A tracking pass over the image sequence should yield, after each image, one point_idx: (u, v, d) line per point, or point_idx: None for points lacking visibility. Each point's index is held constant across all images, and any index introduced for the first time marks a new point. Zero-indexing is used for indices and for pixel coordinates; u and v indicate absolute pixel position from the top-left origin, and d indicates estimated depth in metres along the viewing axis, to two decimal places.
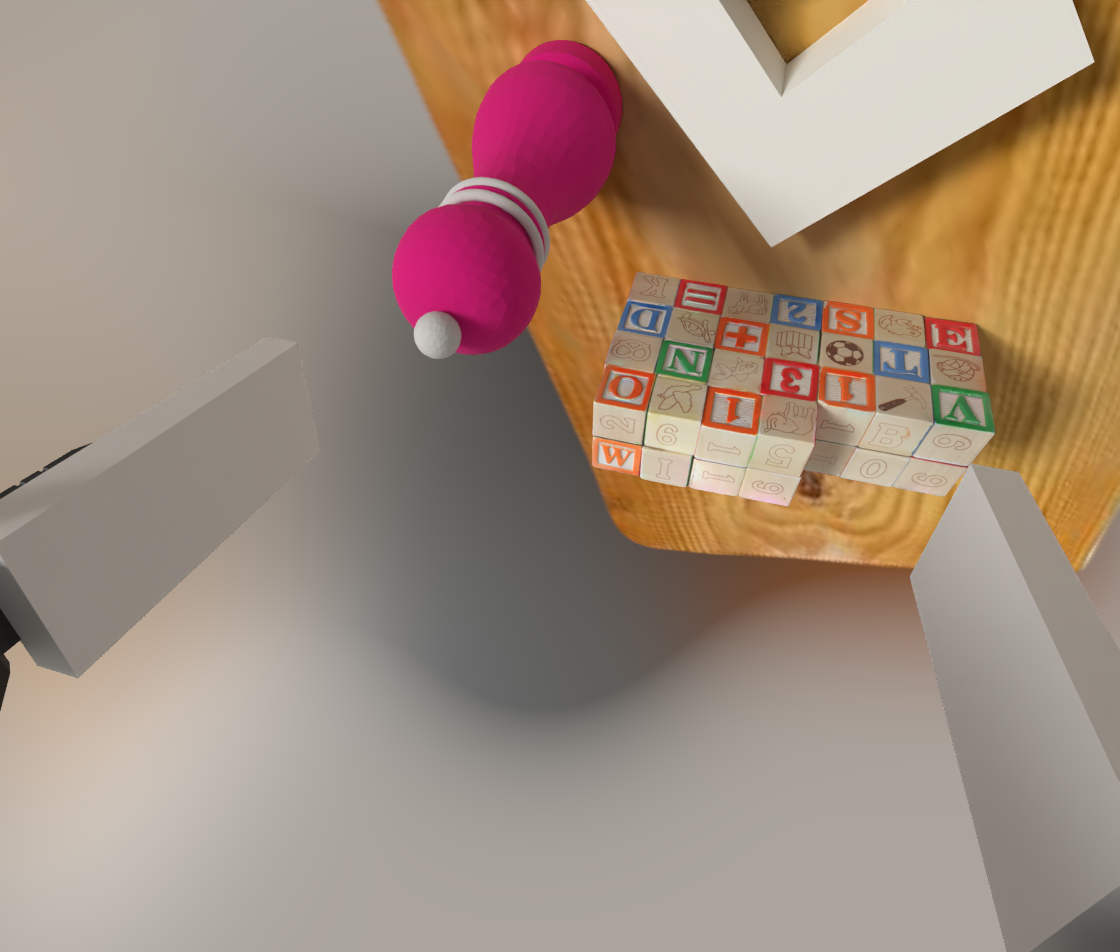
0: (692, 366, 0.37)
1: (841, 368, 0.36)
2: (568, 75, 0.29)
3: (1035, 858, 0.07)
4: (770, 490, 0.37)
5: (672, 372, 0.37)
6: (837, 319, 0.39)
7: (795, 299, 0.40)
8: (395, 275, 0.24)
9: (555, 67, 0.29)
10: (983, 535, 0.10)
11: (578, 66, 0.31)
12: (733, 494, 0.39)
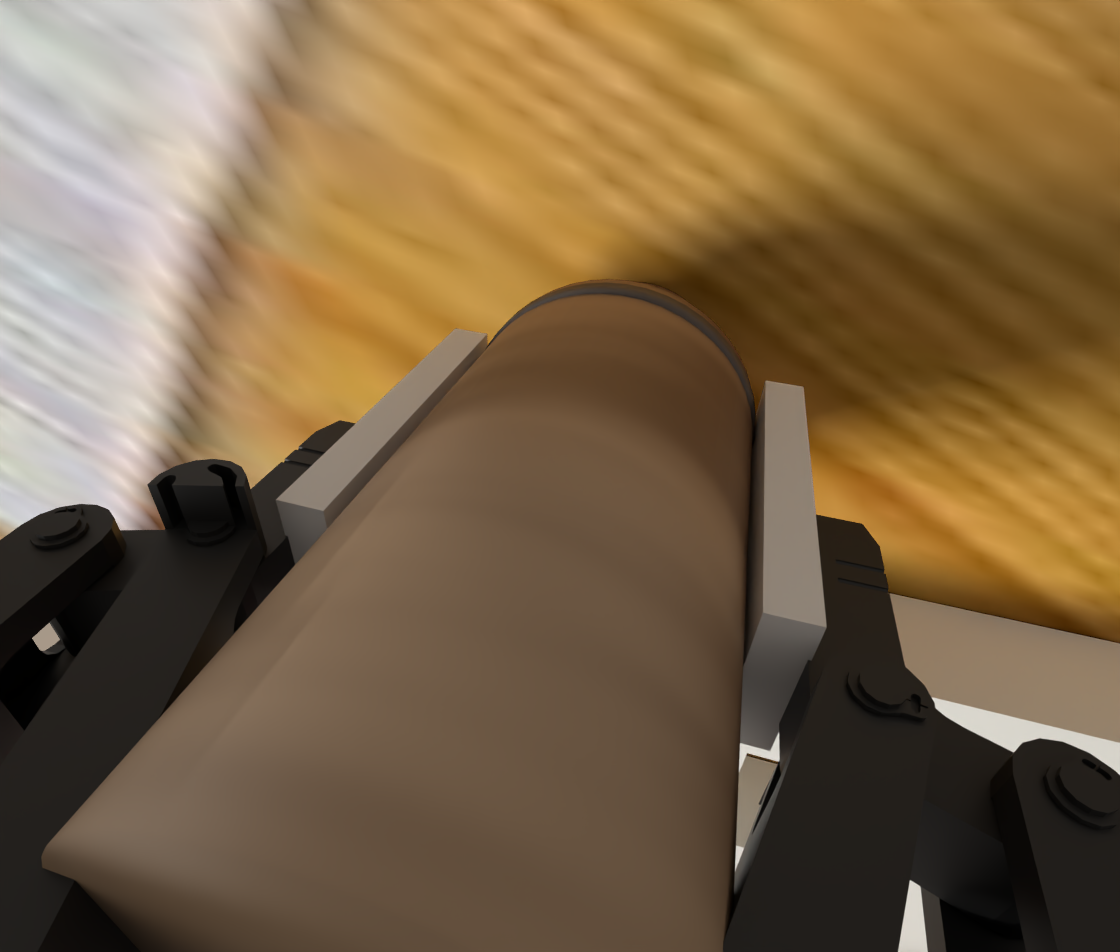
0: None
1: None
2: None
3: None
4: None
5: None
6: None
7: None
8: None
9: None
10: (759, 433, 0.12)
11: None
12: None
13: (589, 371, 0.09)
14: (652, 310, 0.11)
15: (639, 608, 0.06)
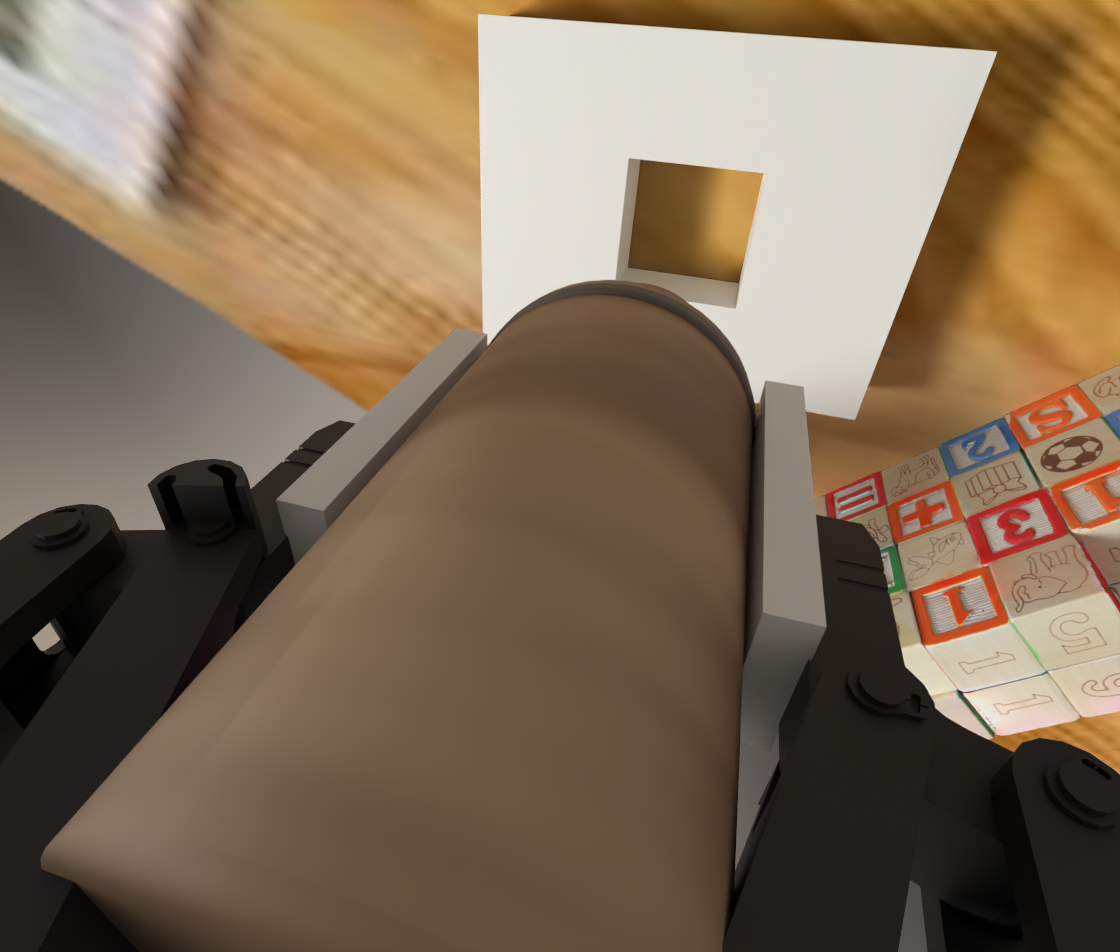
0: None
1: (1079, 473, 0.25)
2: None
3: None
4: None
5: None
6: (1035, 424, 0.29)
7: (967, 435, 0.31)
8: None
9: None
10: (759, 433, 0.12)
11: None
12: (1072, 718, 0.24)
13: (589, 372, 0.09)
14: (652, 311, 0.11)
15: (639, 611, 0.06)
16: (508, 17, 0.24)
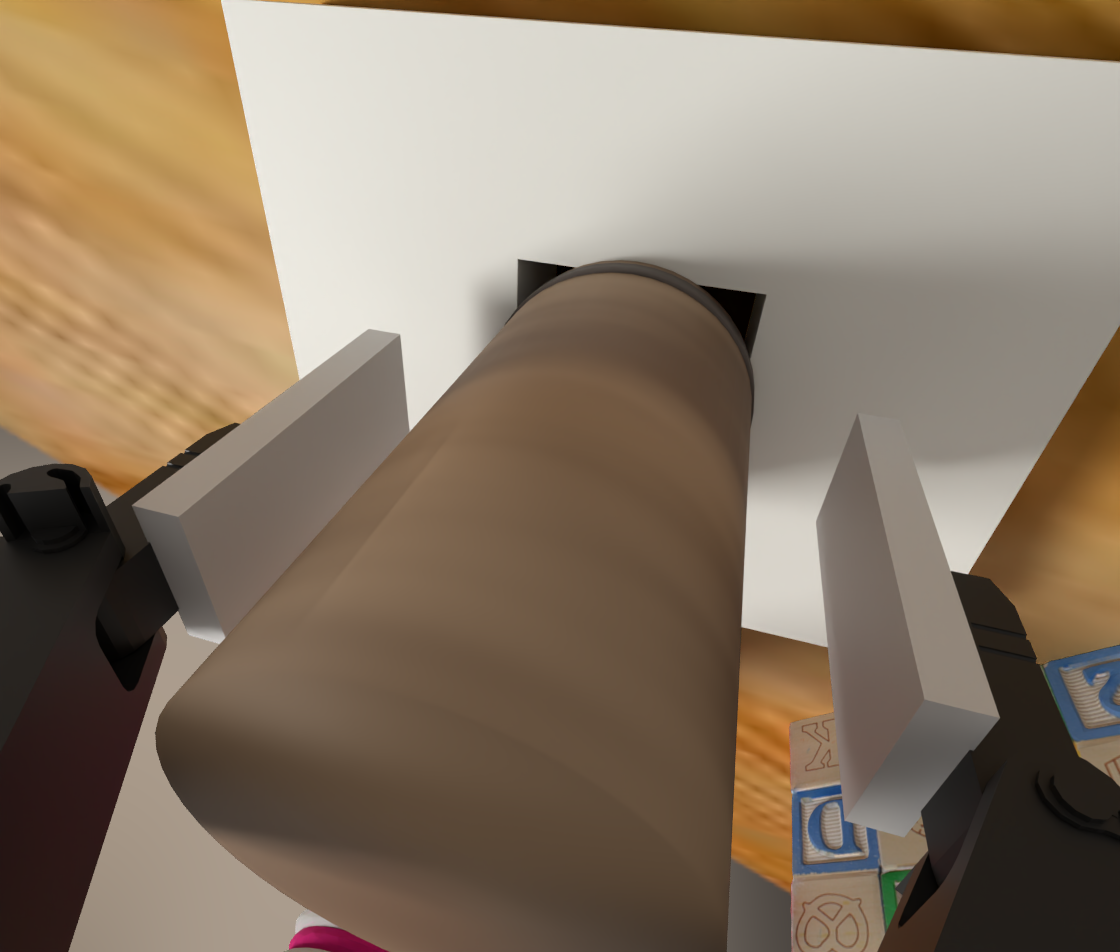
0: None
1: None
2: None
3: (864, 728, 0.08)
4: None
5: None
6: None
7: (1093, 657, 0.20)
8: None
9: None
10: (859, 472, 0.11)
11: None
12: None
13: (604, 336, 0.10)
14: (659, 287, 0.12)
15: (654, 526, 0.07)
16: (274, 4, 0.12)
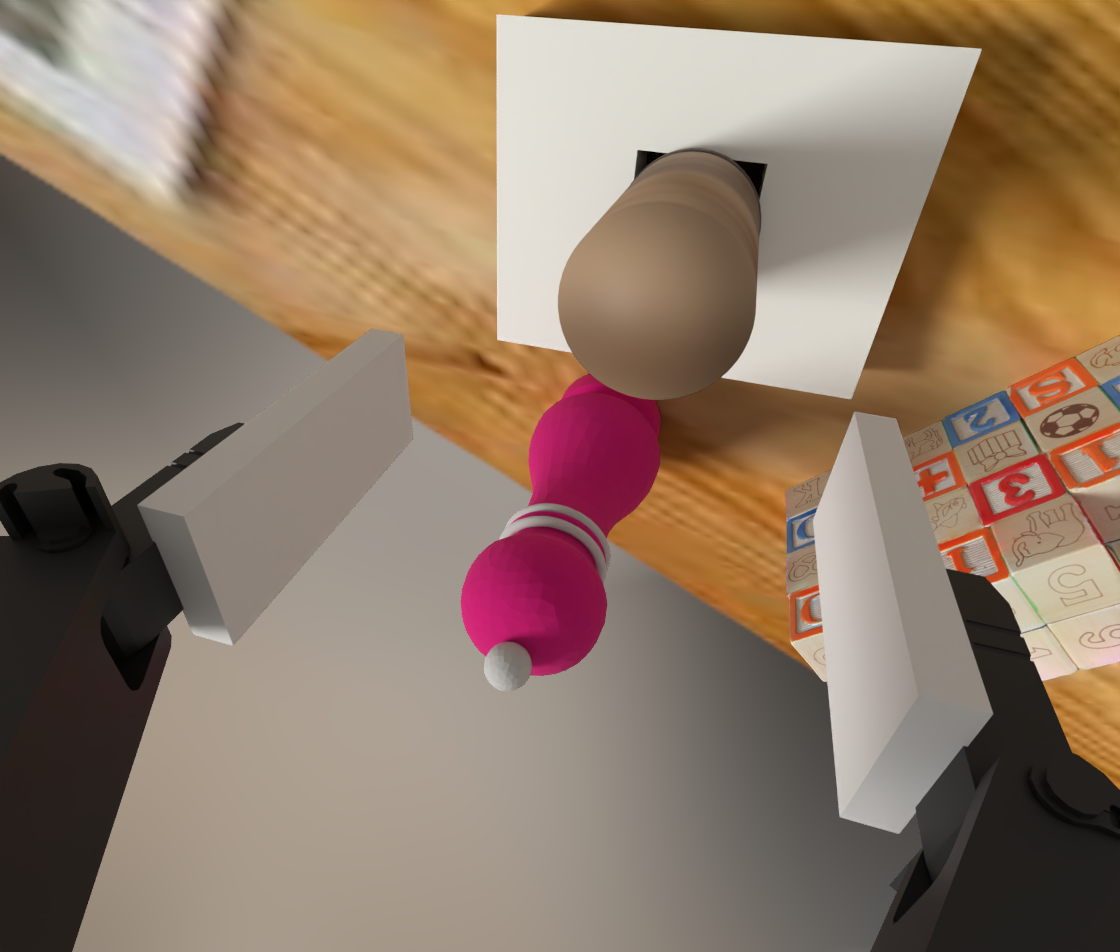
0: None
1: (1076, 438, 0.26)
2: (572, 400, 0.33)
3: (860, 725, 0.08)
4: (1116, 639, 0.24)
5: None
6: (1034, 395, 0.30)
7: (970, 408, 0.32)
8: None
9: (561, 402, 0.34)
10: (856, 471, 0.11)
11: (588, 389, 0.36)
12: (1070, 670, 0.26)
13: (696, 165, 0.23)
14: (715, 156, 0.25)
15: (727, 206, 0.20)
16: (525, 17, 0.25)
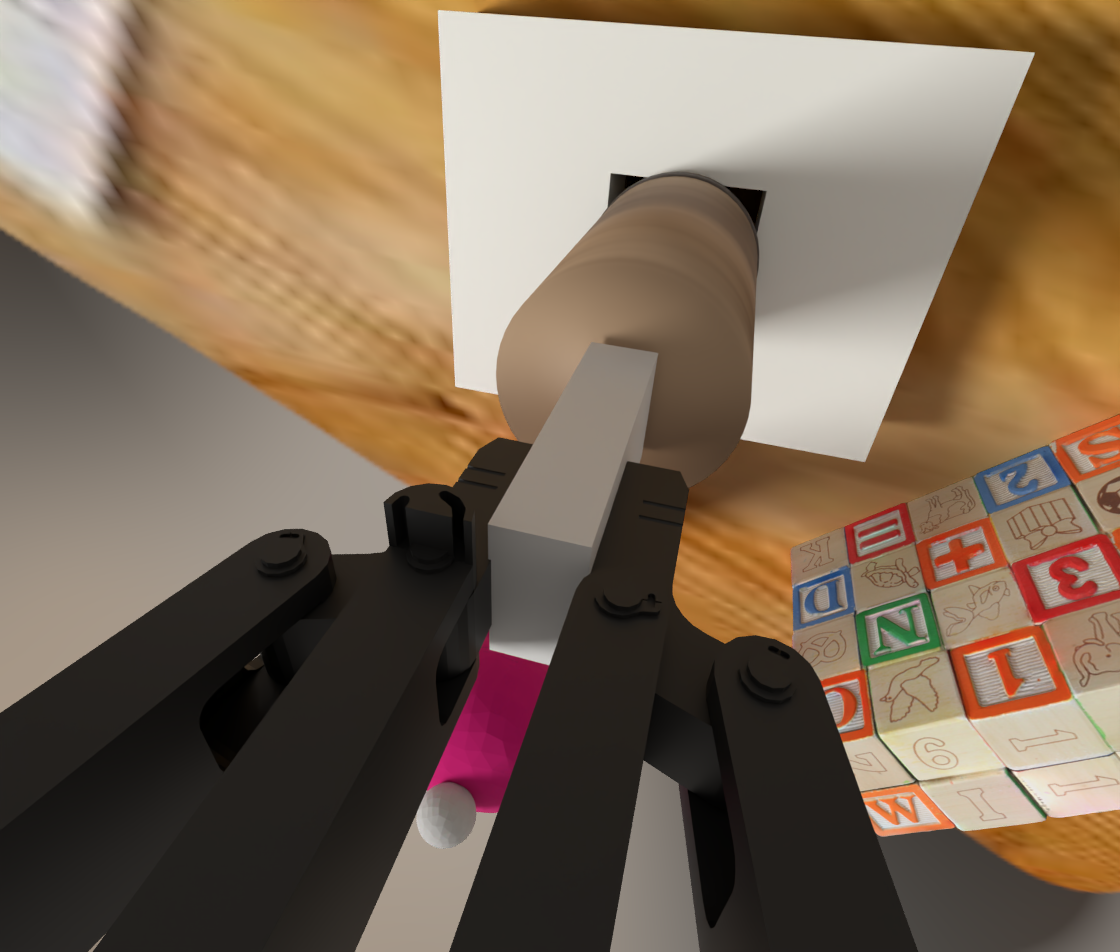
0: (909, 631, 0.25)
1: None
2: None
3: None
4: None
5: (886, 654, 0.25)
6: (1087, 454, 0.25)
7: (1006, 465, 0.28)
8: None
9: None
10: None
11: None
12: None
13: (678, 197, 0.18)
14: (703, 182, 0.21)
15: (715, 256, 0.15)
16: (472, 13, 0.21)
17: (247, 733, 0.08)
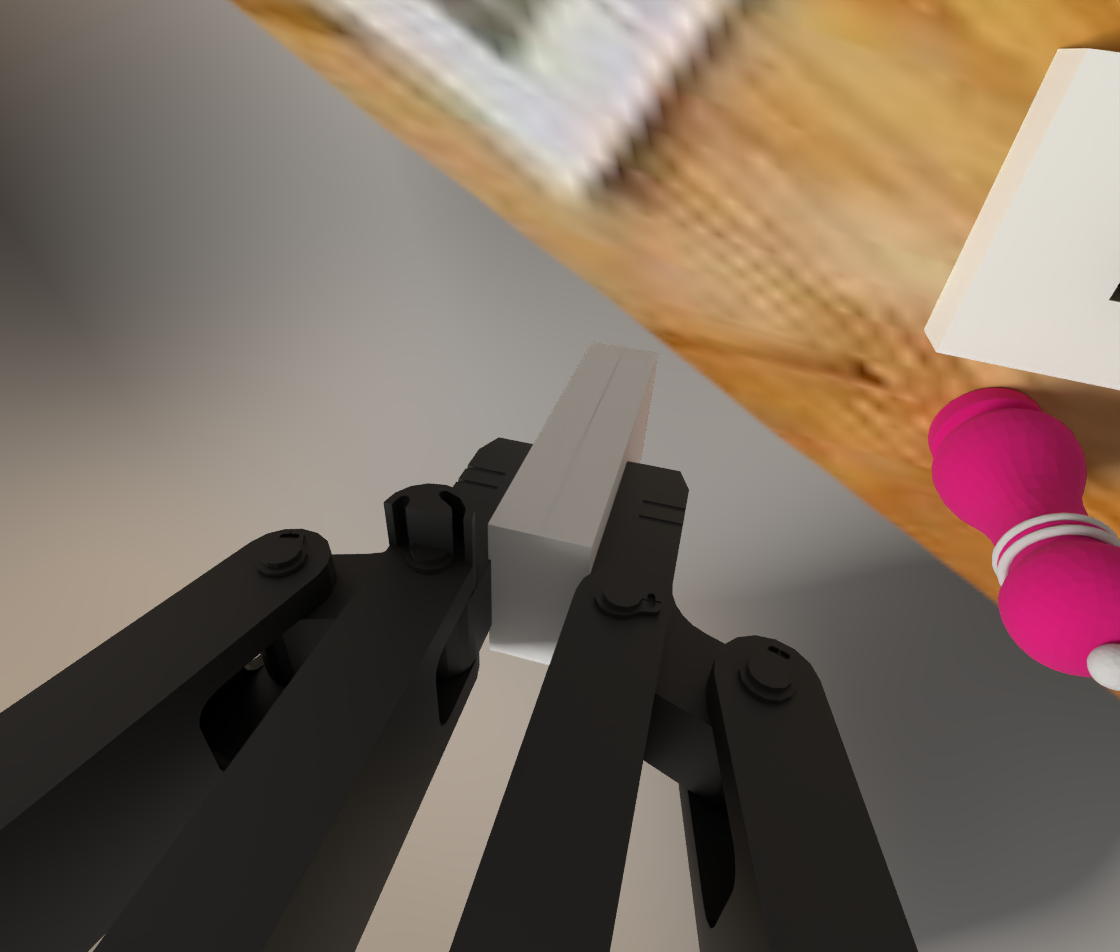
0: None
1: None
2: (1007, 414, 0.35)
3: None
4: None
5: None
6: None
7: None
8: (1027, 632, 0.27)
9: (992, 415, 0.35)
10: None
11: (994, 404, 0.37)
12: None
13: None
14: None
15: None
16: (1118, 53, 0.27)
17: (247, 733, 0.08)
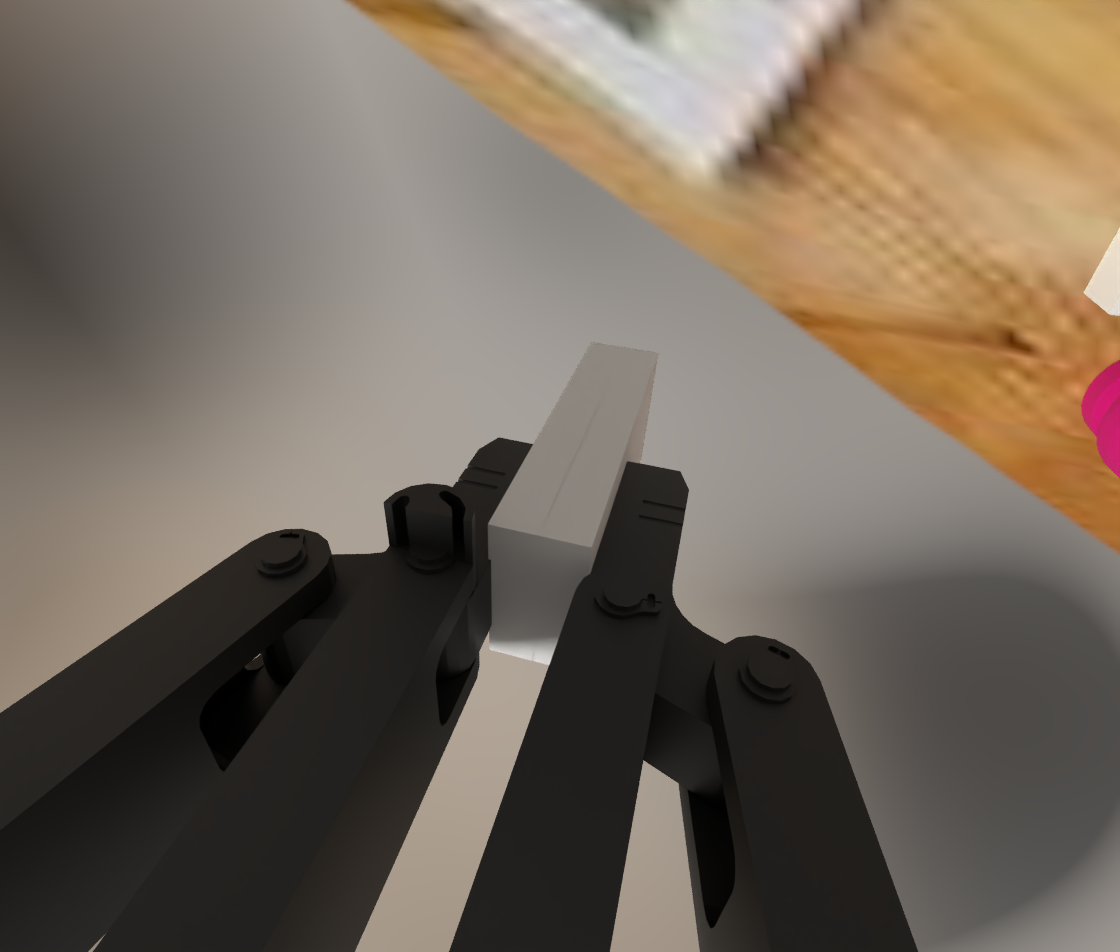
0: None
1: None
2: None
3: None
4: None
5: None
6: None
7: None
8: None
9: None
10: None
11: None
12: None
13: None
14: None
15: None
16: None
17: (247, 733, 0.08)
